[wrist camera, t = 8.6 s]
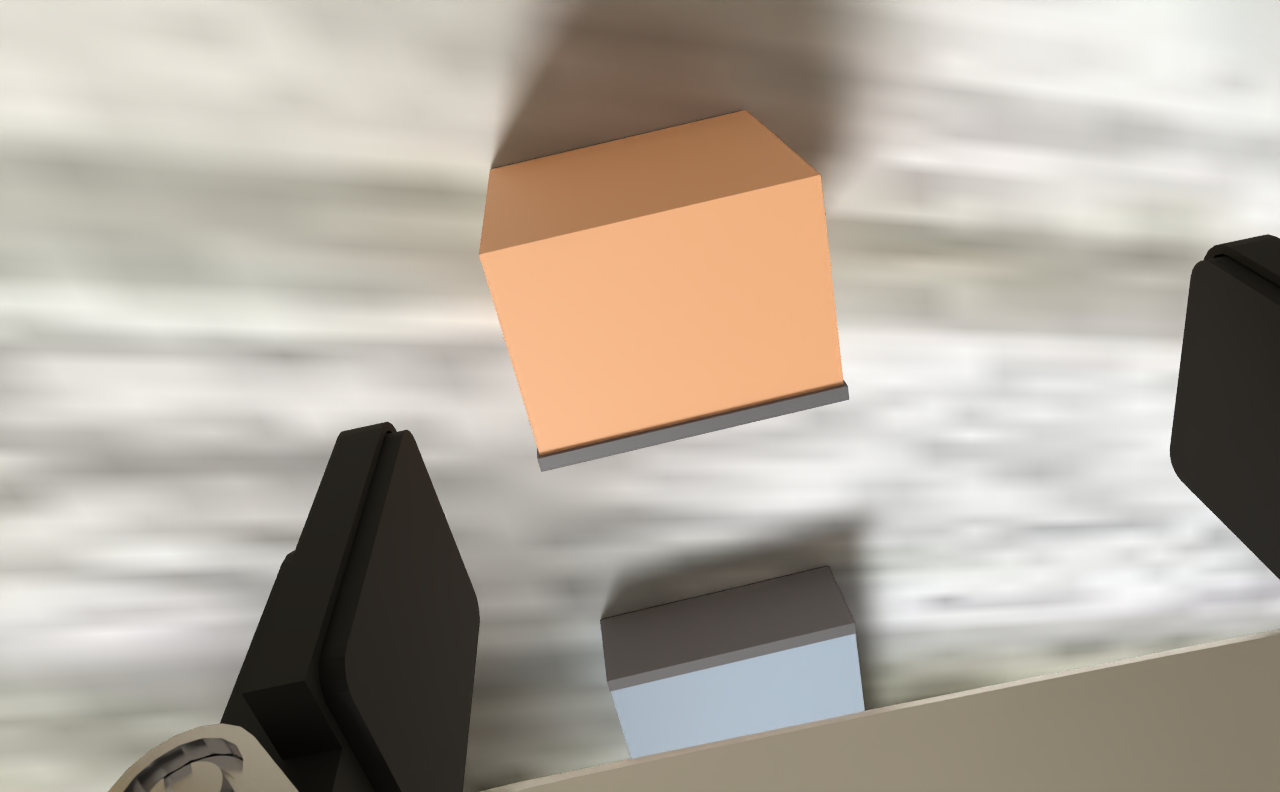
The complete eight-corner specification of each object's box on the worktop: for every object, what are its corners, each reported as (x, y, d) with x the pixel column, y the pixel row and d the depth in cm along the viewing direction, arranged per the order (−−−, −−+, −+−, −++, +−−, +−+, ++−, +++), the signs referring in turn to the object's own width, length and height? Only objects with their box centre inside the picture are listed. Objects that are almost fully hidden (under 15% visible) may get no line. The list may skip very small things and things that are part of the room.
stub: (748, 109, 21) (825, 175, 16) (773, 287, 23) (849, 399, 18) (488, 170, 21) (475, 257, 16) (536, 342, 23) (541, 472, 18)
